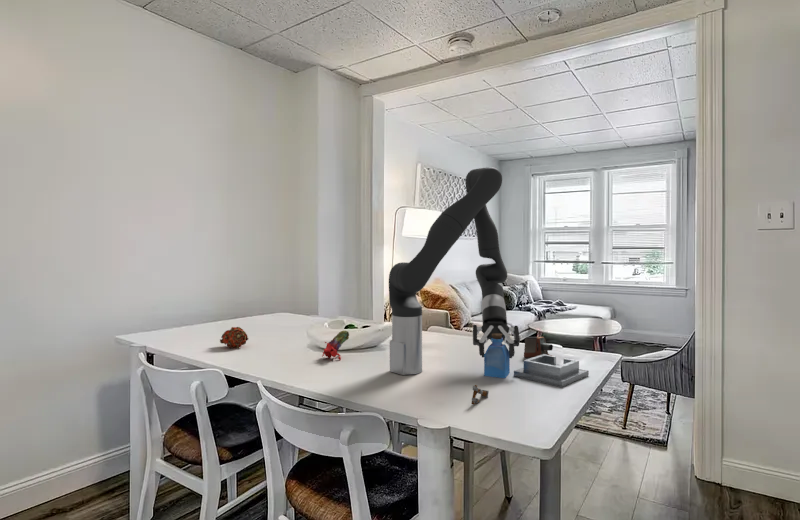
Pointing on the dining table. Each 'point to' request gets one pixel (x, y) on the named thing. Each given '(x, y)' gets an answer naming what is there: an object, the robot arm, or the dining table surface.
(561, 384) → the grey square frame
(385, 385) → the dining table surface
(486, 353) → the perfume bottle
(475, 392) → the wooden post with brackets
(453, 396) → the dining table surface
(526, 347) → the electronic device
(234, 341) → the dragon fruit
